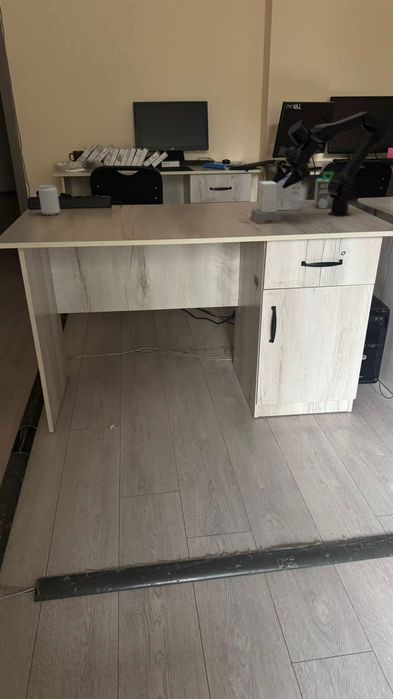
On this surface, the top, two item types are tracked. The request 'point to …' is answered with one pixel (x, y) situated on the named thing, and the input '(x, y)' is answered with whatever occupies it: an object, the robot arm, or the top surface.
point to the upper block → (265, 215)
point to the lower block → (265, 221)
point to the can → (49, 199)
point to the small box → (267, 196)
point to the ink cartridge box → (288, 196)
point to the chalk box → (323, 192)
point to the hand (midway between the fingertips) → (277, 186)
